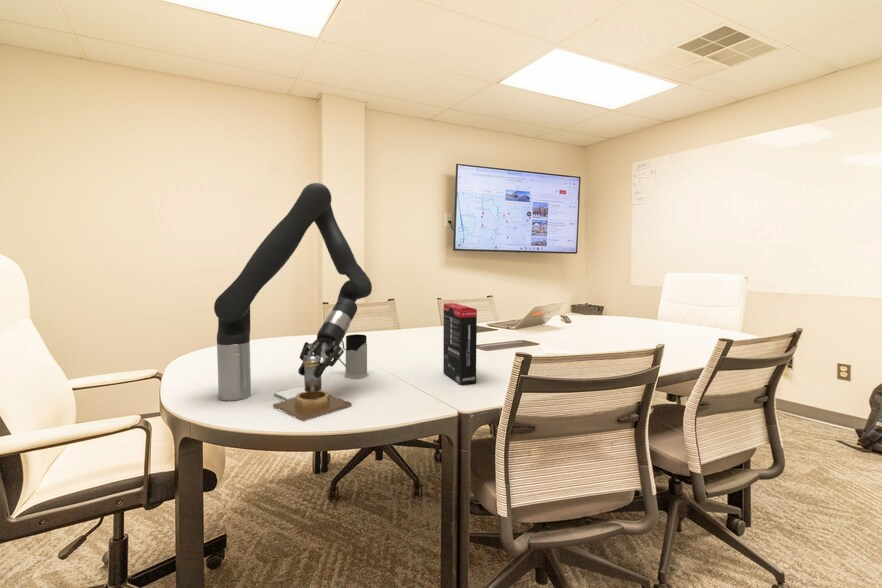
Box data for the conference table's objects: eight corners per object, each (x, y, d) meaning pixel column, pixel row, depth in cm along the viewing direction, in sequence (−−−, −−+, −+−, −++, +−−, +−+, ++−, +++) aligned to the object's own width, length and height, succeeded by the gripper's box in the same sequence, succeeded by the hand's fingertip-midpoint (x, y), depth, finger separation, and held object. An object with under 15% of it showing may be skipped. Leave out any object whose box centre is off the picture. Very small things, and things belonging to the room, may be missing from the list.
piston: (300, 389, 126) (299, 356, 125) (315, 385, 130) (314, 353, 129) (310, 393, 123) (309, 358, 122) (325, 389, 127) (325, 355, 126)
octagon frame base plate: (273, 407, 126) (272, 395, 126) (320, 394, 138) (320, 384, 138) (303, 421, 116) (303, 408, 115) (351, 406, 128) (351, 394, 128)
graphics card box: (477, 384, 152) (479, 307, 150) (459, 386, 150) (460, 308, 147) (457, 372, 168) (458, 302, 166) (441, 373, 165) (442, 303, 163)
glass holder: (360, 380, 155) (360, 339, 154) (327, 376, 160) (326, 336, 159) (372, 374, 164) (372, 335, 163) (339, 370, 168) (339, 332, 167)
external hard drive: (273, 397, 136) (308, 389, 146) (287, 403, 131) (322, 394, 140) (273, 392, 136) (308, 384, 146) (286, 398, 131) (322, 389, 140)
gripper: (310, 319, 135) (282, 365, 125) (347, 322, 129) (321, 371, 119) (322, 333, 140) (296, 379, 130) (358, 337, 134) (334, 385, 124)
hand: (308, 375), depth 125 cm, fingers closed on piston, 5 cm apart
